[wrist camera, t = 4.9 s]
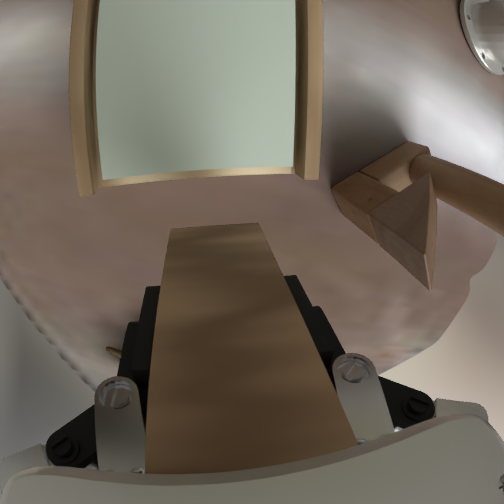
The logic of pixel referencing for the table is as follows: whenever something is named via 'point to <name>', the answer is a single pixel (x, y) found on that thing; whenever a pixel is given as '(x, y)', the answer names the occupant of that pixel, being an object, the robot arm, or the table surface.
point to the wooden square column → (234, 362)
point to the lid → (195, 85)
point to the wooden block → (415, 203)
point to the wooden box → (92, 181)
